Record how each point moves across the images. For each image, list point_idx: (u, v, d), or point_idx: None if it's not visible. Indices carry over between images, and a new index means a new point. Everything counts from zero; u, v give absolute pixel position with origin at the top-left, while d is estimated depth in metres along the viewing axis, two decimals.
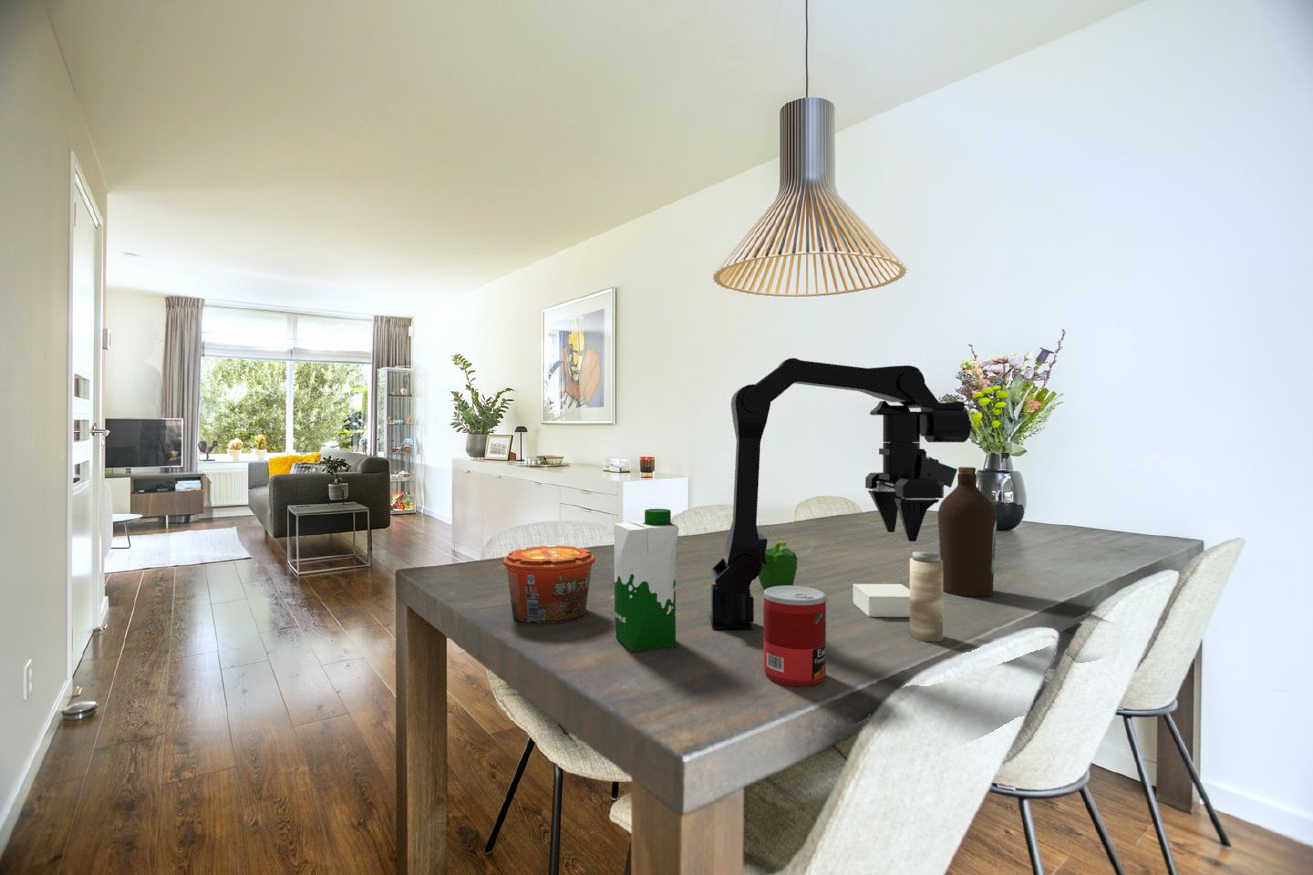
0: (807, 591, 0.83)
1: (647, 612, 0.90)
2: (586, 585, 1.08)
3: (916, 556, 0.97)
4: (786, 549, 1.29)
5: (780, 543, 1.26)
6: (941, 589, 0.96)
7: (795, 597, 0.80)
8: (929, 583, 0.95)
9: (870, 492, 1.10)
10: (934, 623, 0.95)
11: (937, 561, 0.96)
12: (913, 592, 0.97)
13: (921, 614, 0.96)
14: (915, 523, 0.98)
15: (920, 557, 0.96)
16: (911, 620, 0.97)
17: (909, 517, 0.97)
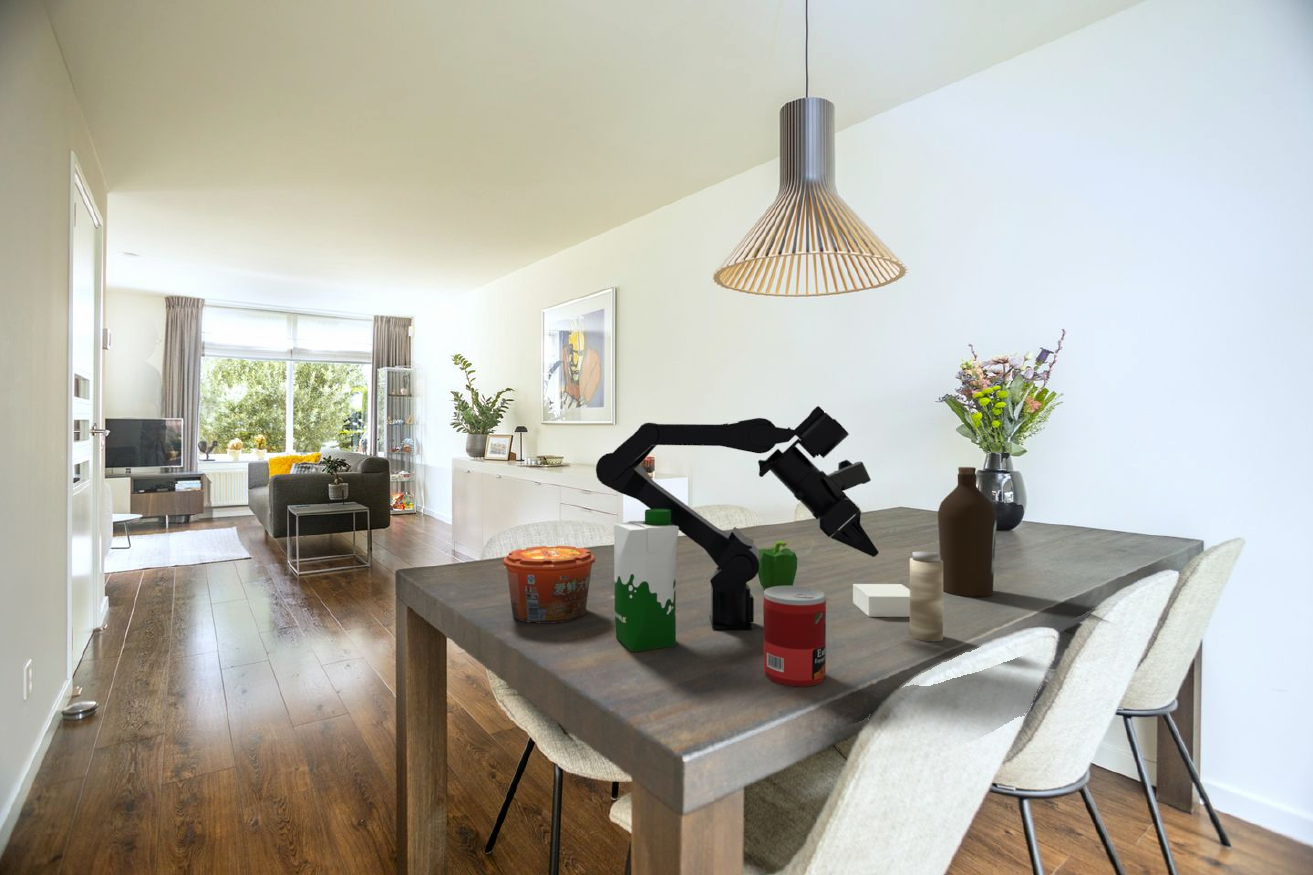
0: (807, 591, 0.83)
1: (647, 612, 0.90)
2: (586, 585, 1.08)
3: (916, 556, 0.97)
4: (786, 549, 1.29)
5: (780, 543, 1.26)
6: (941, 589, 0.96)
7: (795, 597, 0.80)
8: (929, 583, 0.95)
9: None
10: (934, 622, 0.95)
11: (937, 561, 0.96)
12: (913, 592, 0.97)
13: (921, 614, 0.96)
14: (863, 541, 0.94)
15: (920, 557, 0.96)
16: (911, 620, 0.97)
17: (853, 540, 0.94)
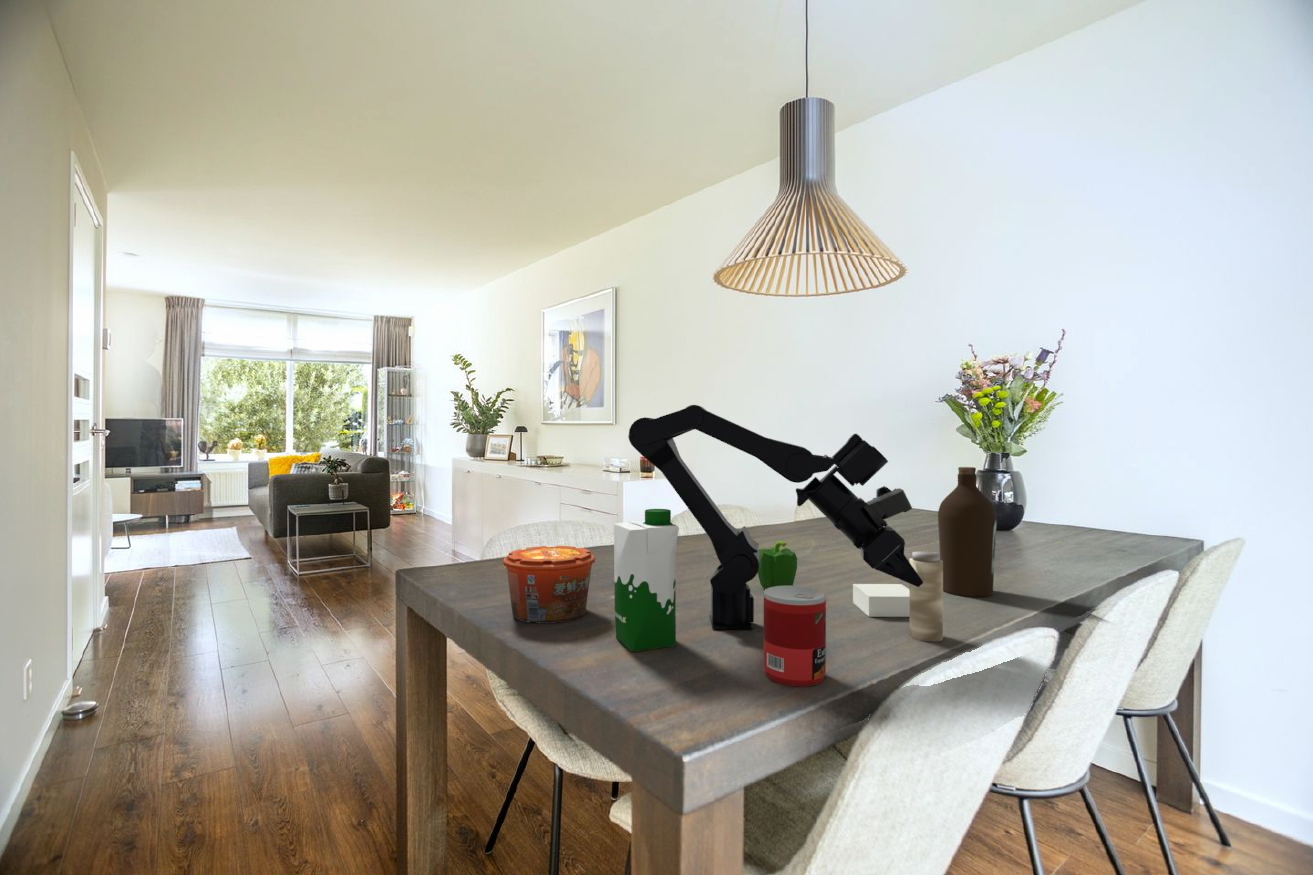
0: (807, 591, 0.83)
1: (647, 612, 0.90)
2: (586, 585, 1.08)
3: (916, 556, 0.97)
4: (786, 549, 1.29)
5: (780, 543, 1.26)
6: (941, 589, 0.96)
7: (795, 597, 0.80)
8: (929, 583, 0.95)
9: None
10: (934, 622, 0.95)
11: (937, 561, 0.96)
12: (913, 592, 0.97)
13: (921, 614, 0.96)
14: (907, 571, 0.93)
15: (920, 557, 0.96)
16: (911, 620, 0.97)
17: (897, 571, 0.93)
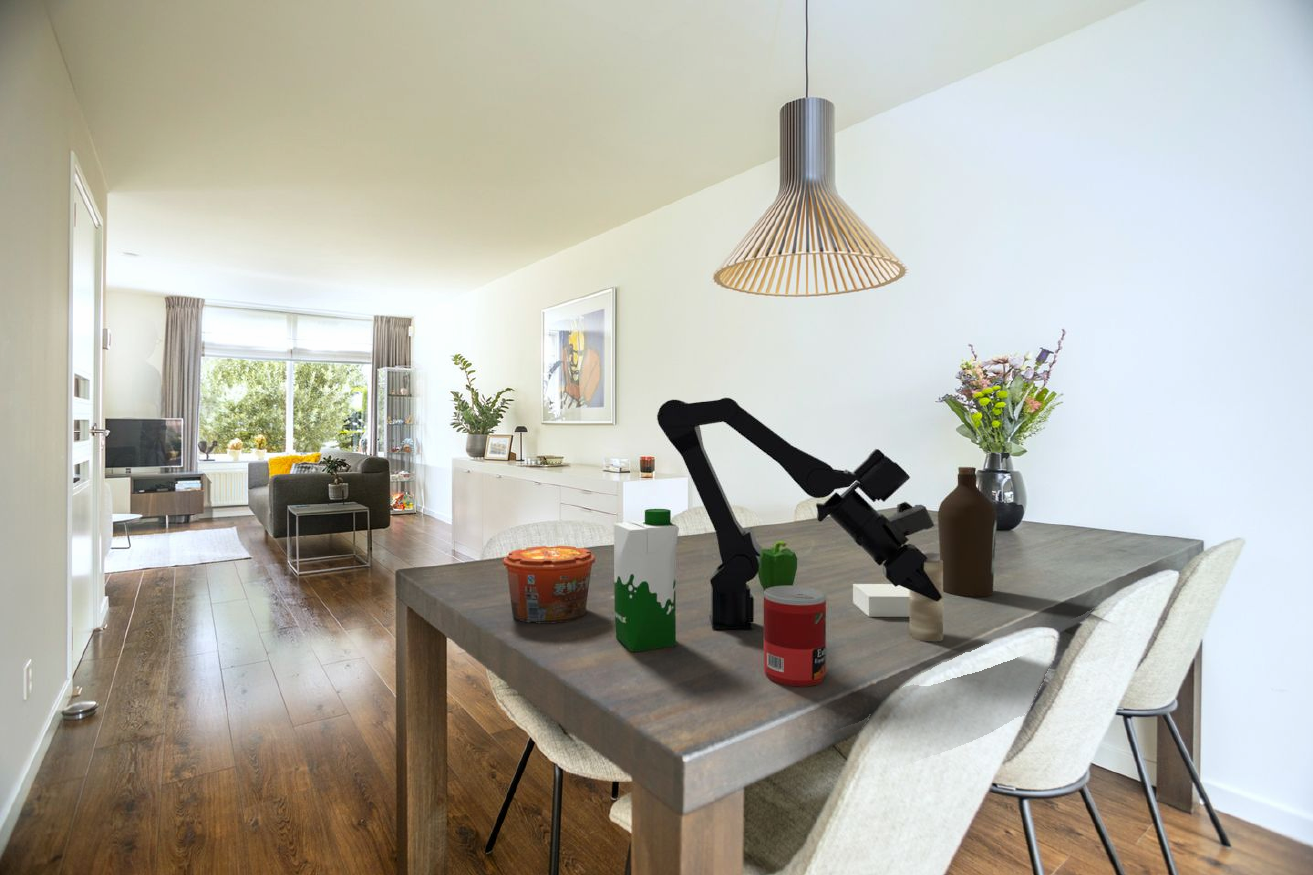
0: (807, 591, 0.83)
1: (647, 612, 0.90)
2: (586, 585, 1.08)
3: None
4: (786, 549, 1.29)
5: (780, 543, 1.26)
6: (941, 589, 0.96)
7: (795, 597, 0.80)
8: None
9: None
10: (934, 622, 0.95)
11: (937, 561, 0.96)
12: (913, 592, 0.97)
13: (921, 614, 0.96)
14: (926, 586, 0.94)
15: None
16: (911, 620, 0.97)
17: (917, 585, 0.94)
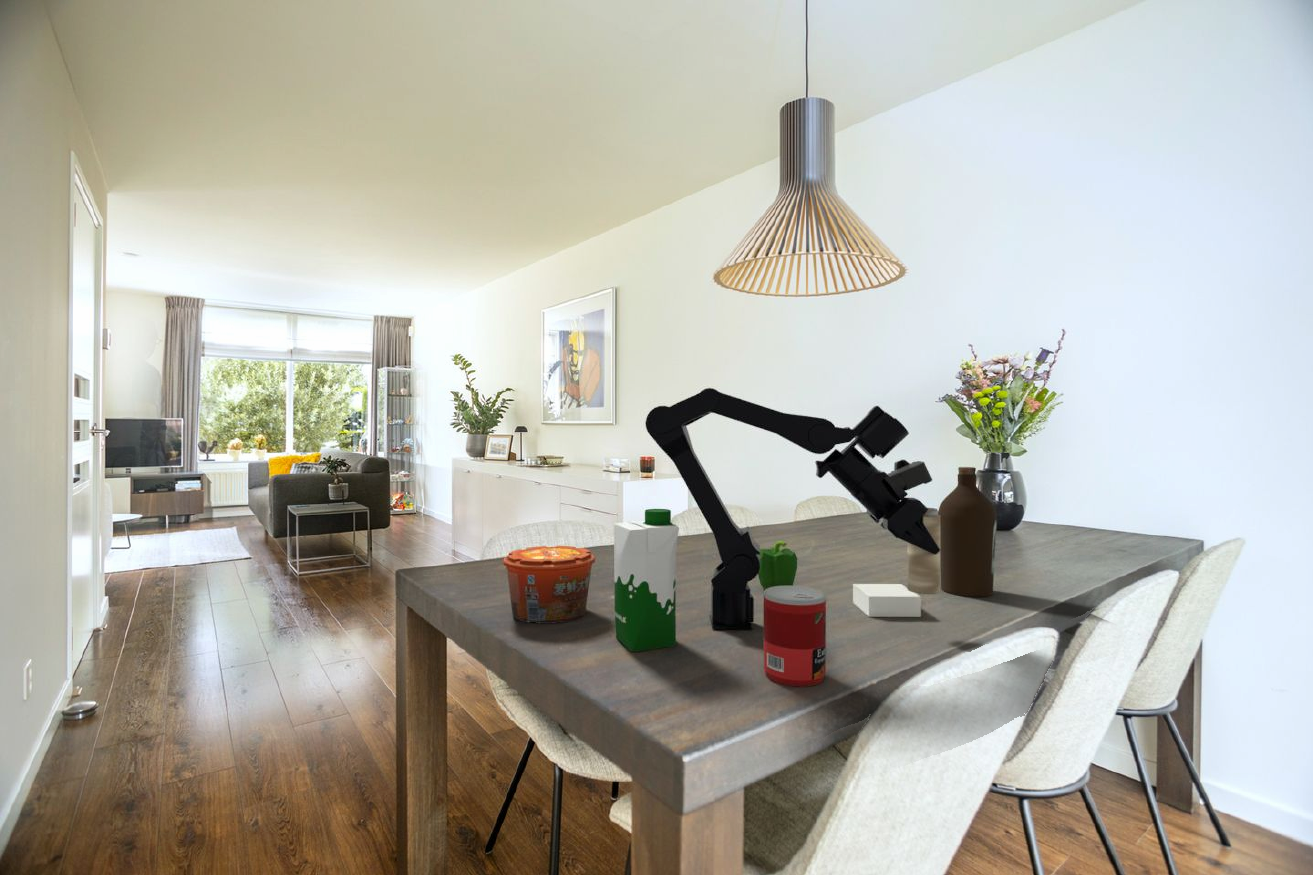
0: (807, 591, 0.83)
1: (647, 612, 0.90)
2: (586, 585, 1.08)
3: None
4: (786, 549, 1.29)
5: (780, 543, 1.26)
6: (939, 543, 0.97)
7: (795, 597, 0.80)
8: None
9: None
10: (932, 576, 0.96)
11: (935, 515, 0.97)
12: (911, 546, 0.98)
13: (919, 568, 0.97)
14: (925, 539, 0.95)
15: None
16: (909, 574, 0.98)
17: (916, 538, 0.95)
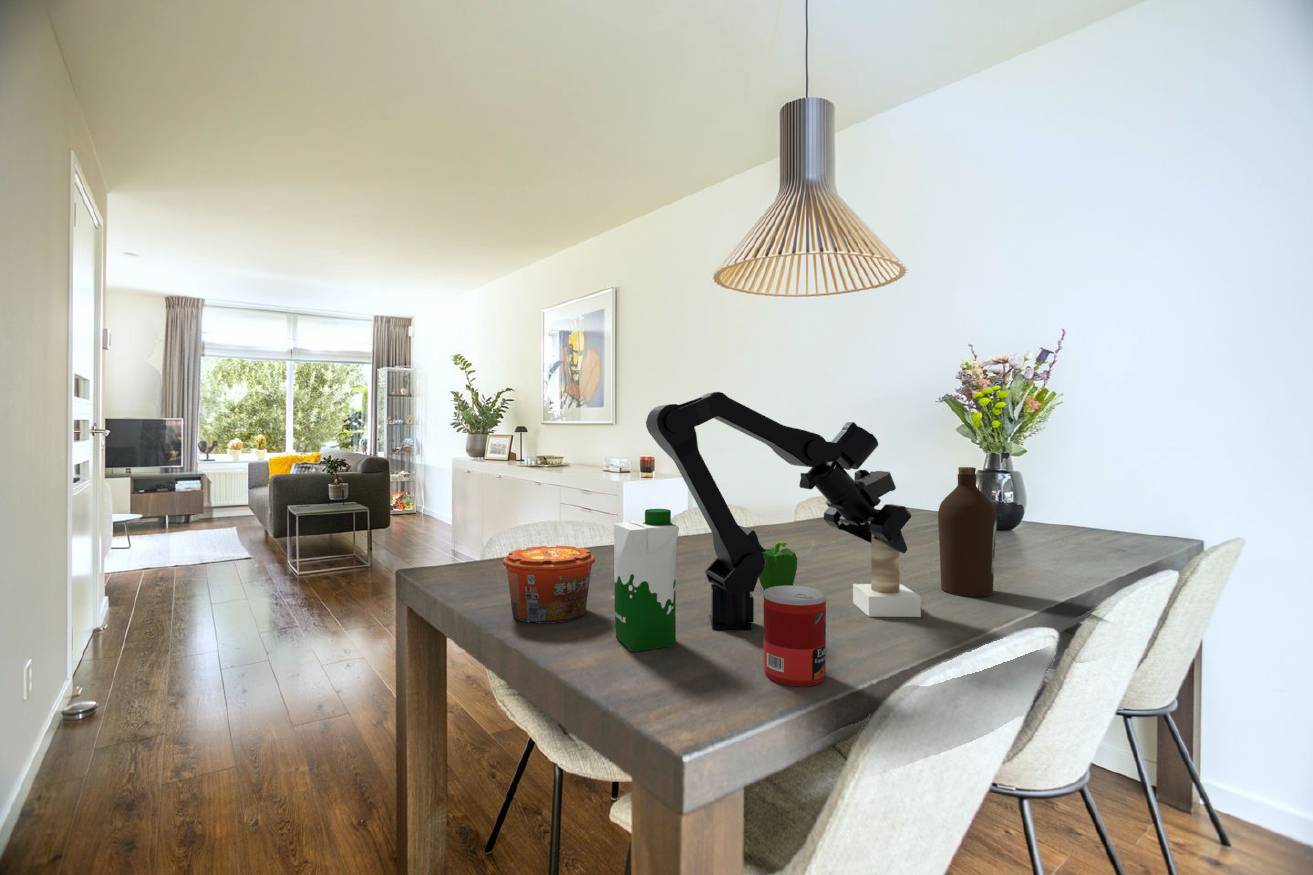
0: (807, 591, 0.83)
1: (647, 612, 0.90)
2: (586, 585, 1.08)
3: None
4: (786, 549, 1.29)
5: (780, 543, 1.26)
6: None
7: (795, 597, 0.80)
8: None
9: (842, 530, 1.16)
10: (897, 576, 1.10)
11: None
12: (879, 552, 1.11)
13: (887, 570, 1.10)
14: (899, 540, 1.08)
15: None
16: (876, 577, 1.11)
17: (893, 541, 1.07)
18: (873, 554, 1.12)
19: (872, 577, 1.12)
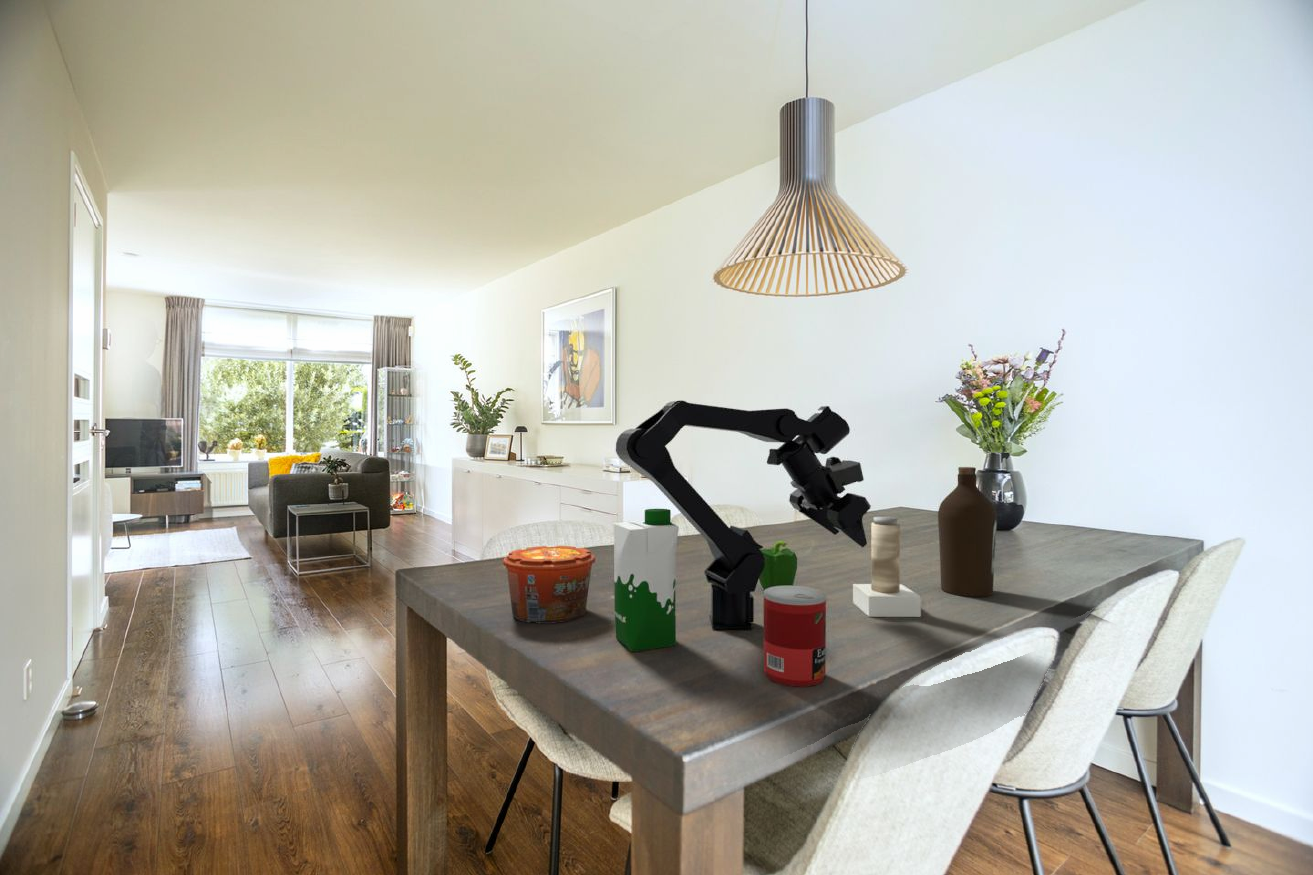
0: (807, 591, 0.83)
1: (647, 611, 0.90)
2: (586, 585, 1.08)
3: (881, 521, 1.11)
4: (786, 549, 1.29)
5: (780, 543, 1.26)
6: (899, 547, 1.11)
7: (795, 597, 0.80)
8: (893, 543, 1.10)
9: (801, 512, 1.16)
10: (897, 576, 1.10)
11: (897, 523, 1.11)
12: (879, 552, 1.11)
13: (887, 570, 1.10)
14: (859, 533, 1.06)
15: (885, 521, 1.10)
16: (876, 577, 1.11)
17: (853, 532, 1.05)
18: (873, 554, 1.12)
19: (872, 577, 1.12)
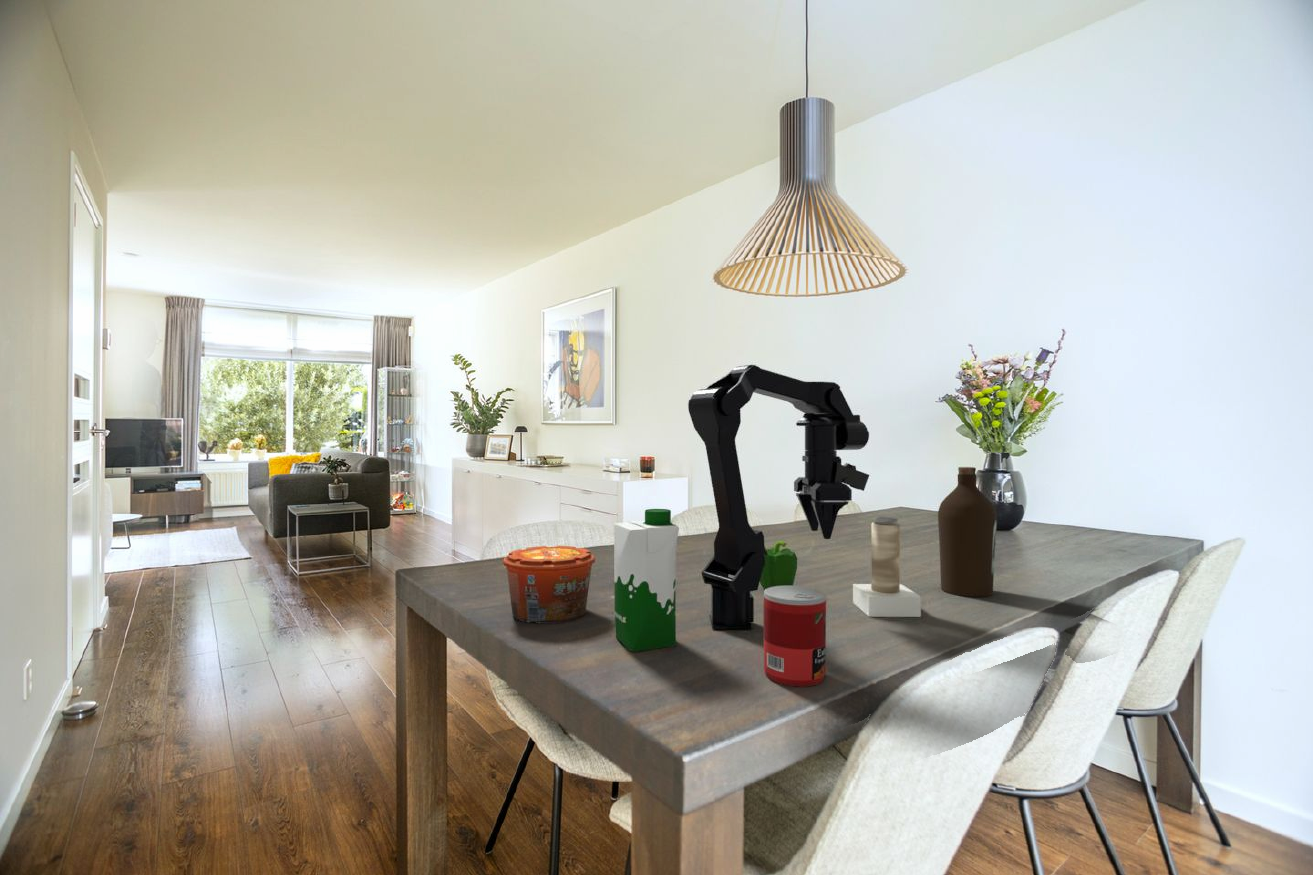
0: (807, 591, 0.83)
1: (647, 612, 0.90)
2: (586, 585, 1.08)
3: (881, 521, 1.11)
4: (786, 549, 1.29)
5: (780, 543, 1.26)
6: (899, 547, 1.11)
7: (795, 597, 0.80)
8: (893, 543, 1.10)
9: (797, 495, 1.22)
10: (897, 576, 1.10)
11: (897, 523, 1.11)
12: (879, 552, 1.11)
13: (887, 570, 1.10)
14: (829, 523, 1.10)
15: (885, 521, 1.10)
16: (876, 577, 1.11)
17: (823, 517, 1.10)
18: (873, 554, 1.12)
19: (872, 577, 1.12)
